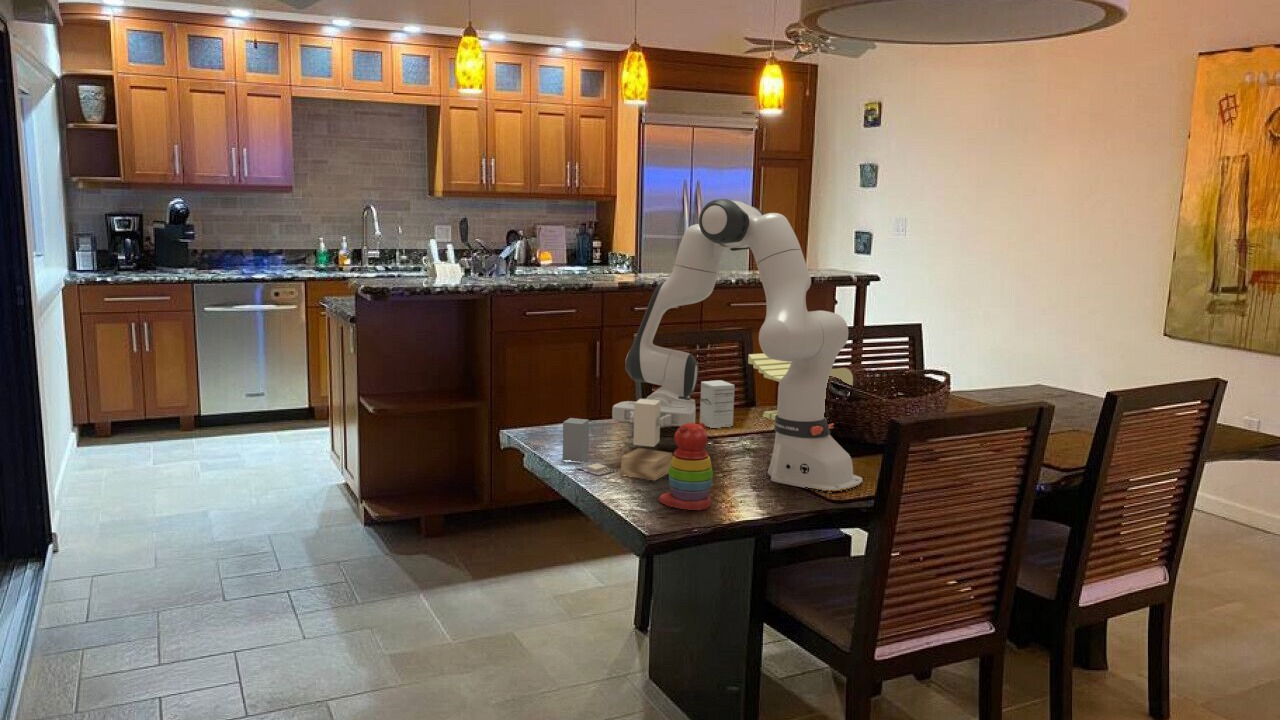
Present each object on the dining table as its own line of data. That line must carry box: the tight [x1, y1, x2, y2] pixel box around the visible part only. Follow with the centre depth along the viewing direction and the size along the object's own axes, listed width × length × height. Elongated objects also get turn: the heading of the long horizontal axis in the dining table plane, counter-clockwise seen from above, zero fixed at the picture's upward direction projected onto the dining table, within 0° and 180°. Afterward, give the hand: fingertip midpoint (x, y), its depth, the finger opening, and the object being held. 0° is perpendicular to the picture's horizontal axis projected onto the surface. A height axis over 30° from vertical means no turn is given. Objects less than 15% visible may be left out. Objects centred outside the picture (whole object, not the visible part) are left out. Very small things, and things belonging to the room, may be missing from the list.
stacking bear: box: [658, 422, 714, 511], centre depth 203 cm, size 11×10×18 cm
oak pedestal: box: [620, 447, 673, 481], centre depth 226 cm, size 9×9×5 cm
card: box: [586, 462, 617, 473], centre depth 229 cm, size 8×6×1 cm
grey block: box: [562, 417, 590, 462], centre depth 236 cm, size 5×5×10 cm
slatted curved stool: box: [747, 353, 854, 420], centre depth 285 cm, size 30×16×18 cm, turn 28°
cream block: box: [632, 398, 661, 448], centre depth 225 cm, size 5×5×10 cm
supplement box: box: [699, 379, 735, 429], centre depth 276 cm, size 7×7×13 cm
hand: (646, 421), depth 224 cm, fingers closed on cream block, 5 cm apart
